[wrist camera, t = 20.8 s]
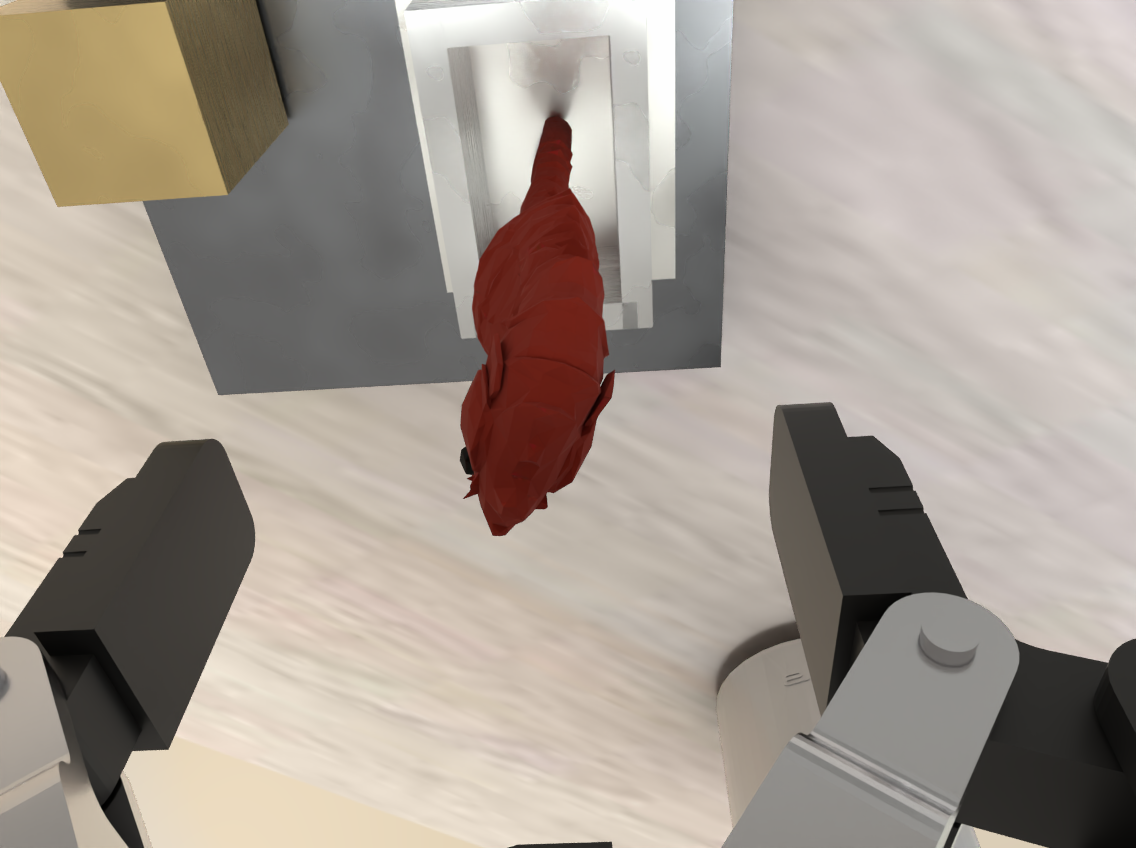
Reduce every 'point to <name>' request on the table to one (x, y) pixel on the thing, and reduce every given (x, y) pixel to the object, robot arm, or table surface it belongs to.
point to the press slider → (140, 95)
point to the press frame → (459, 186)
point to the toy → (536, 346)
